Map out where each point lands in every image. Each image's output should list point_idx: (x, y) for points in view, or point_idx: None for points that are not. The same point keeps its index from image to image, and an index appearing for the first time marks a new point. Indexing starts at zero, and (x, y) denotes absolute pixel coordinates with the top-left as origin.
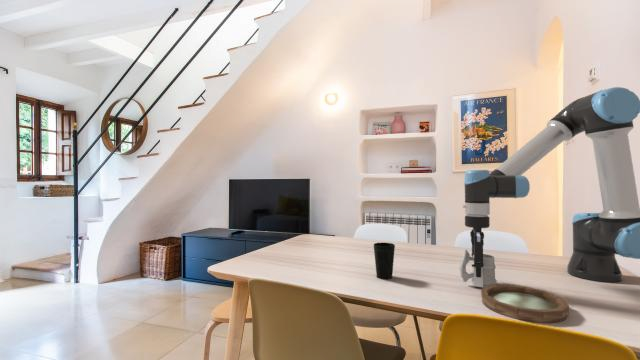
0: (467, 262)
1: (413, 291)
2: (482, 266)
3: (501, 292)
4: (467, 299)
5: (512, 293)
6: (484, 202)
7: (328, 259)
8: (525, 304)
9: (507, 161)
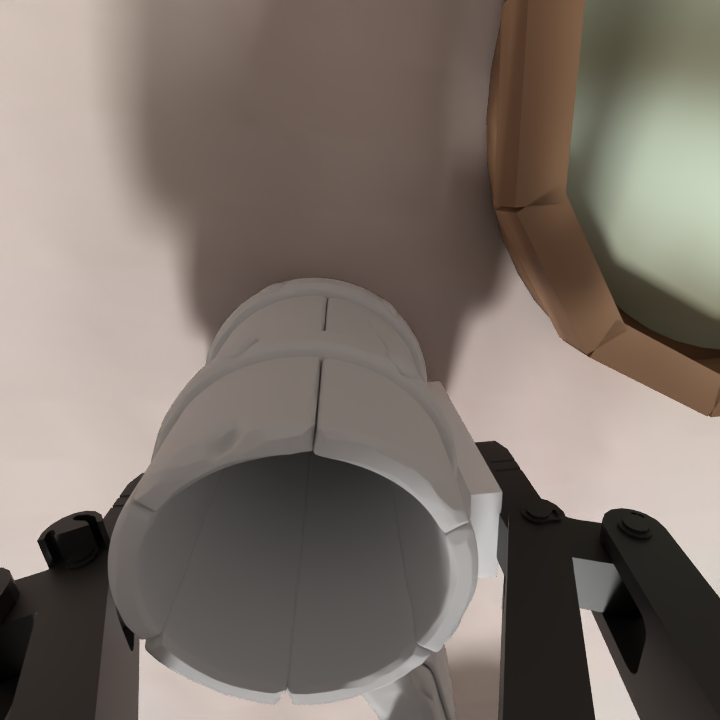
0: (437, 656)
1: (609, 688)
2: (644, 521)
3: (591, 248)
4: (686, 457)
5: (596, 150)
6: None
7: None
8: None
9: None
